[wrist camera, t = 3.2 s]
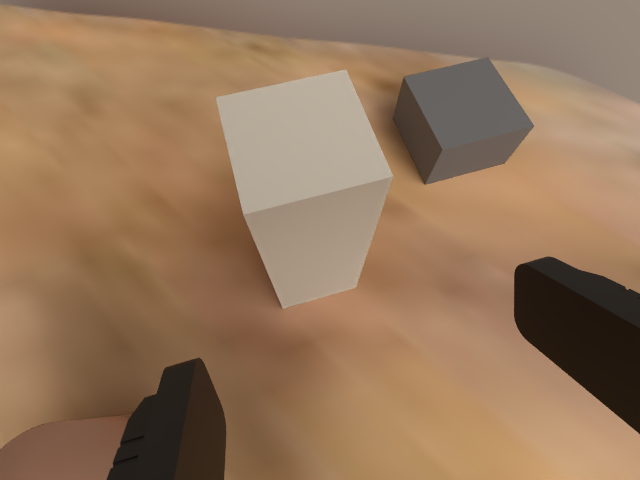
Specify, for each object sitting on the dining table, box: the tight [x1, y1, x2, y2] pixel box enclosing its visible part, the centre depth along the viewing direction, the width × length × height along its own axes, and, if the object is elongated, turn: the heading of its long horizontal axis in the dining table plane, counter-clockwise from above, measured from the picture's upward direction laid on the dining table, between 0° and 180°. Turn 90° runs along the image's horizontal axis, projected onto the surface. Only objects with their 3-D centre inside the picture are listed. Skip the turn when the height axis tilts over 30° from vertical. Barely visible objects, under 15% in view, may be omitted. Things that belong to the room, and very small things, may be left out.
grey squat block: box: [393, 57, 534, 185], centre depth 24 cm, size 6×6×4 cm
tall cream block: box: [216, 69, 393, 309], centre depth 17 cm, size 4×4×12 cm
